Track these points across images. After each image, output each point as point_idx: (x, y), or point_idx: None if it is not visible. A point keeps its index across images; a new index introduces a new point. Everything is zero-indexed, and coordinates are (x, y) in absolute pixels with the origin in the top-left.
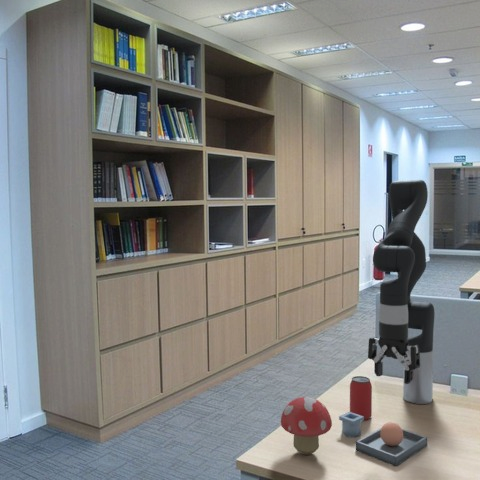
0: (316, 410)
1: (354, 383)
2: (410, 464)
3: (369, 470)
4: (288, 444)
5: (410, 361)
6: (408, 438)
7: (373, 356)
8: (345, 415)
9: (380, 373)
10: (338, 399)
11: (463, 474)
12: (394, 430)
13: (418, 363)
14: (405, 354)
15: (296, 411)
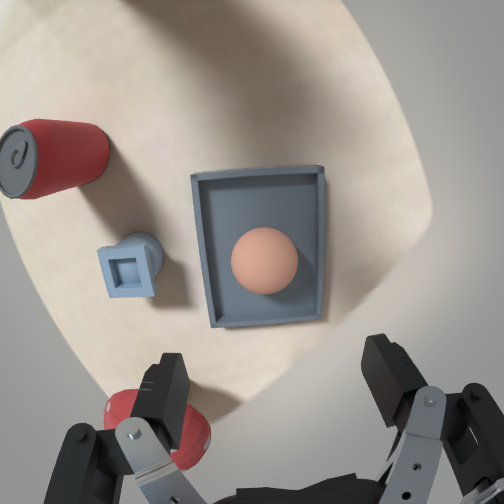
0: (188, 465)
1: (20, 197)
2: (333, 277)
3: (286, 351)
4: (124, 374)
5: (438, 432)
6: (270, 180)
7: (123, 472)
8: (112, 281)
9: (183, 378)
10: (7, 127)
11: (421, 231)
12: (286, 284)
13: (485, 410)
14: (414, 484)
15: None
